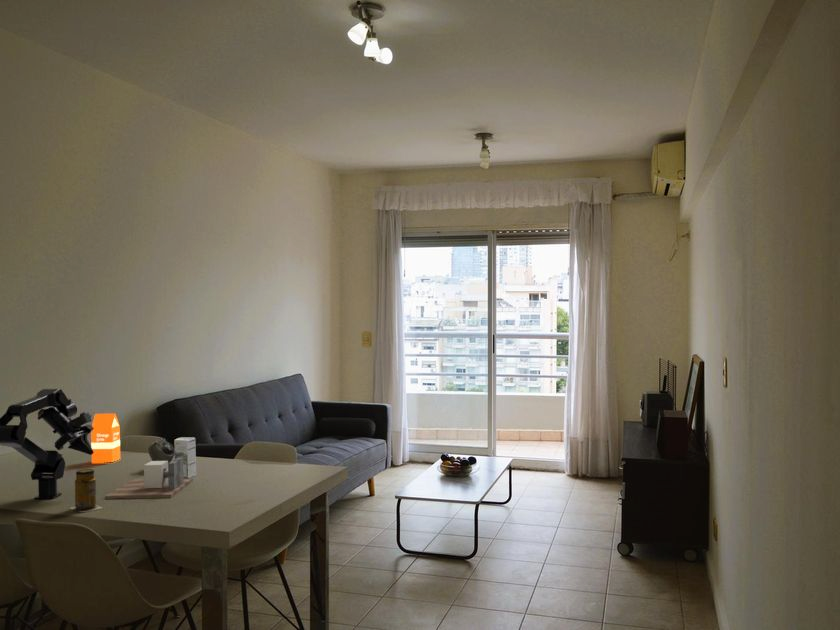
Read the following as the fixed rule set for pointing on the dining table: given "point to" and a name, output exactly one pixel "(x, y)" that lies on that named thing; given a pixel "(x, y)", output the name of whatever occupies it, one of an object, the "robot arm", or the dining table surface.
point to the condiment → (85, 491)
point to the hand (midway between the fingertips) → (92, 453)
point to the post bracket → (168, 491)
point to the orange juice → (105, 438)
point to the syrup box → (186, 455)
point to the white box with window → (155, 474)
